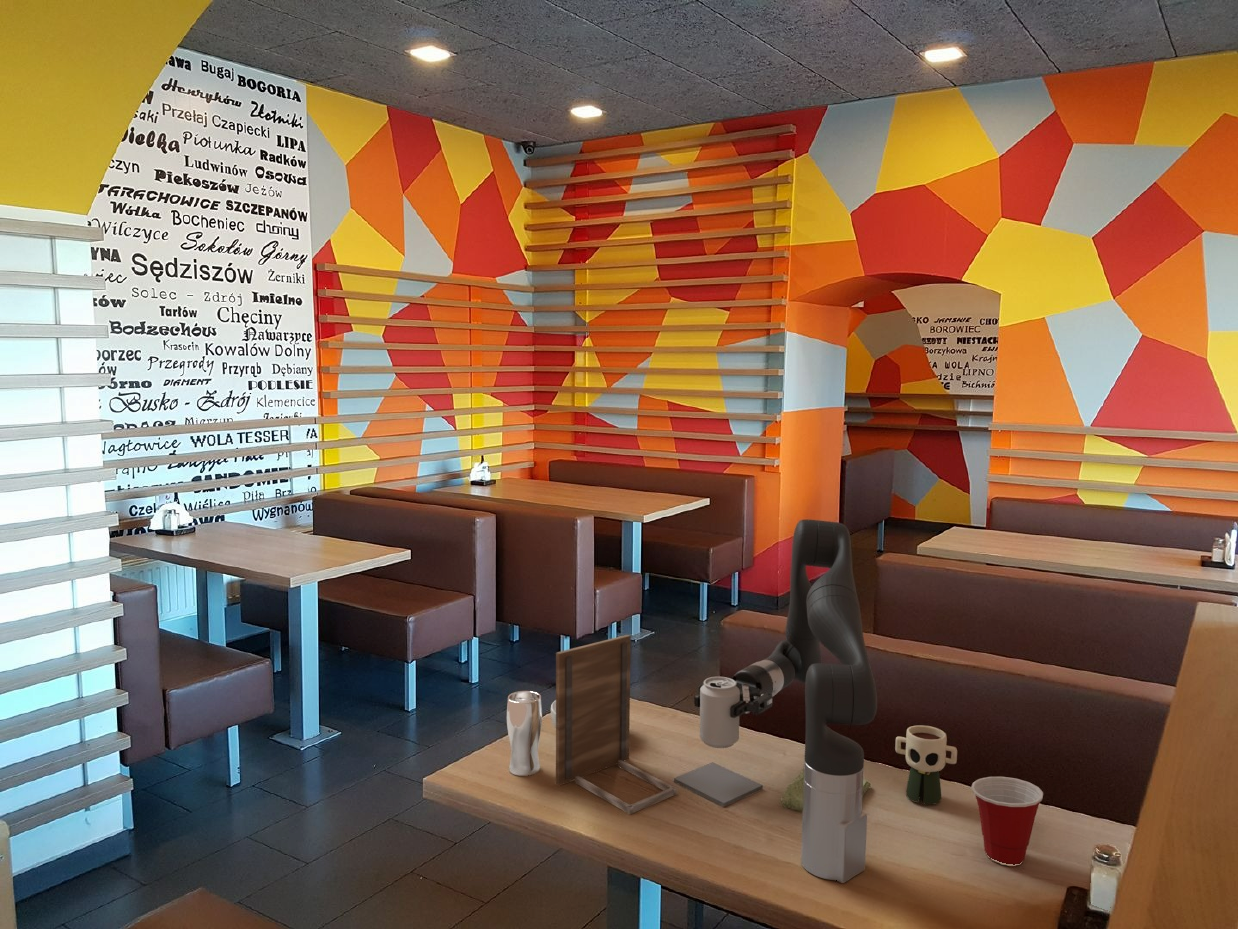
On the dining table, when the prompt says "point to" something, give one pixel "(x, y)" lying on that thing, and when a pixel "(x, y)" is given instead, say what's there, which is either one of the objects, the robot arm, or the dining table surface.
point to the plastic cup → (1006, 816)
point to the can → (718, 712)
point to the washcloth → (795, 793)
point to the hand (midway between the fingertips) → (713, 707)
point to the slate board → (718, 784)
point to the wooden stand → (597, 718)
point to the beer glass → (524, 731)
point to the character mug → (925, 761)
